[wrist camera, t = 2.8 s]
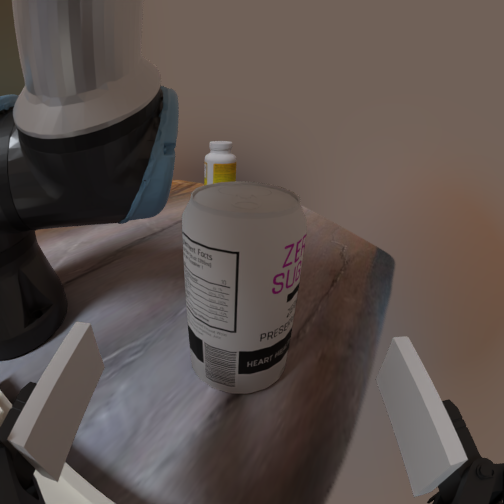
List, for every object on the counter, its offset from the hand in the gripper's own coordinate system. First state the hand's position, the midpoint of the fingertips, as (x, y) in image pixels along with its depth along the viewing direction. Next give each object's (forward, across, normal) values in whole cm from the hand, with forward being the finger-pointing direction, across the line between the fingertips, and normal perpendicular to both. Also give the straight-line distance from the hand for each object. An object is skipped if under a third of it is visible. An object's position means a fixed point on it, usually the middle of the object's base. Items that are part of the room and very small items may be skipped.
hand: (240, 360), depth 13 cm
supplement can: (+10, 0, -11) cm, 15 cm away
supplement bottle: (+57, -6, -10) cm, 58 cm away
